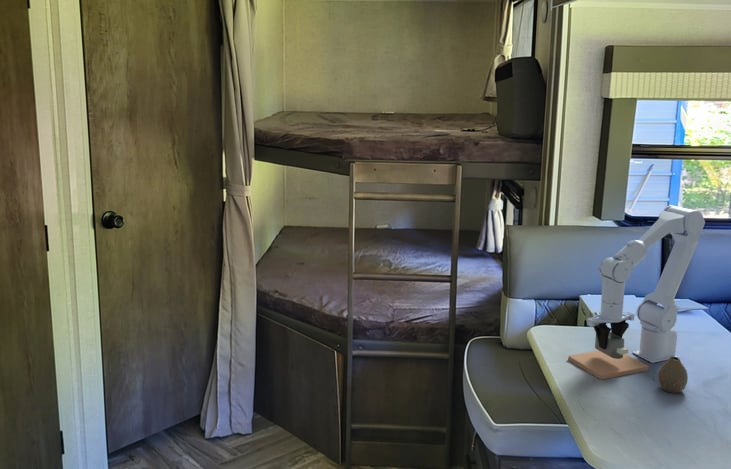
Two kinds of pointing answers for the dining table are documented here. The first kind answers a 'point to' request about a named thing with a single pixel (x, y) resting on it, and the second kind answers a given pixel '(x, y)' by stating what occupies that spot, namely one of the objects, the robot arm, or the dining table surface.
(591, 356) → the mat
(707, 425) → the dining table surface
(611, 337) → the plug
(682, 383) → the vase
